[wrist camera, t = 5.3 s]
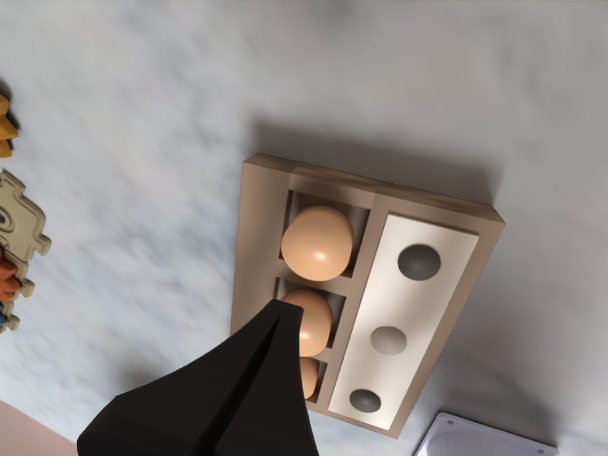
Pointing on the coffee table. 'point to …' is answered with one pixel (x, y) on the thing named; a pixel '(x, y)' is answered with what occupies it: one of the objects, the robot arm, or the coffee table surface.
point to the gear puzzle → (16, 232)
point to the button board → (365, 280)
